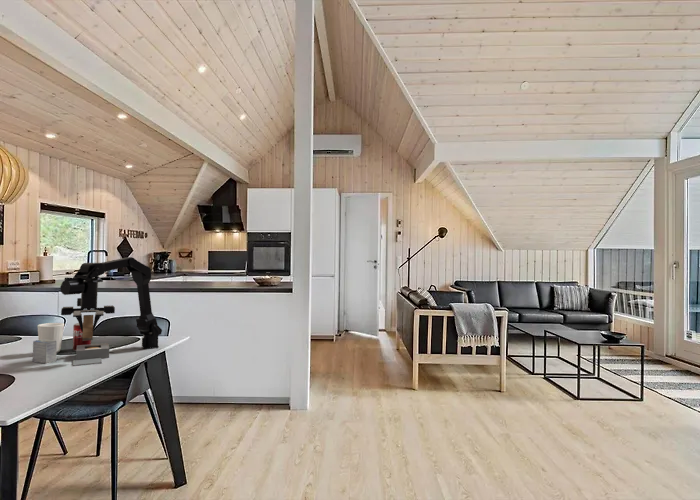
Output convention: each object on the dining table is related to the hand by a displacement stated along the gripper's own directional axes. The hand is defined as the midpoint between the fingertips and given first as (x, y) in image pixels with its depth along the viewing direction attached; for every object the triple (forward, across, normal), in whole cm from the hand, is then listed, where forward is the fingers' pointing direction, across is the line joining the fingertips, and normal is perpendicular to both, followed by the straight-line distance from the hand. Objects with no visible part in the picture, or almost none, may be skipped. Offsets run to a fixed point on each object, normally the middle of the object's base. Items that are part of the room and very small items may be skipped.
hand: (87, 331), depth 176 cm
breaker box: (+13, -2, -11) cm, 17 cm away
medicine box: (+13, +15, -8) cm, 22 cm away
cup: (+13, +14, -24) cm, 31 cm away
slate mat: (+13, 0, 0) cm, 13 cm away
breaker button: (+12, -2, -11) cm, 16 cm away
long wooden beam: (+4, 0, 0) cm, 4 cm away
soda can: (+13, +2, -27) cm, 30 cm away
